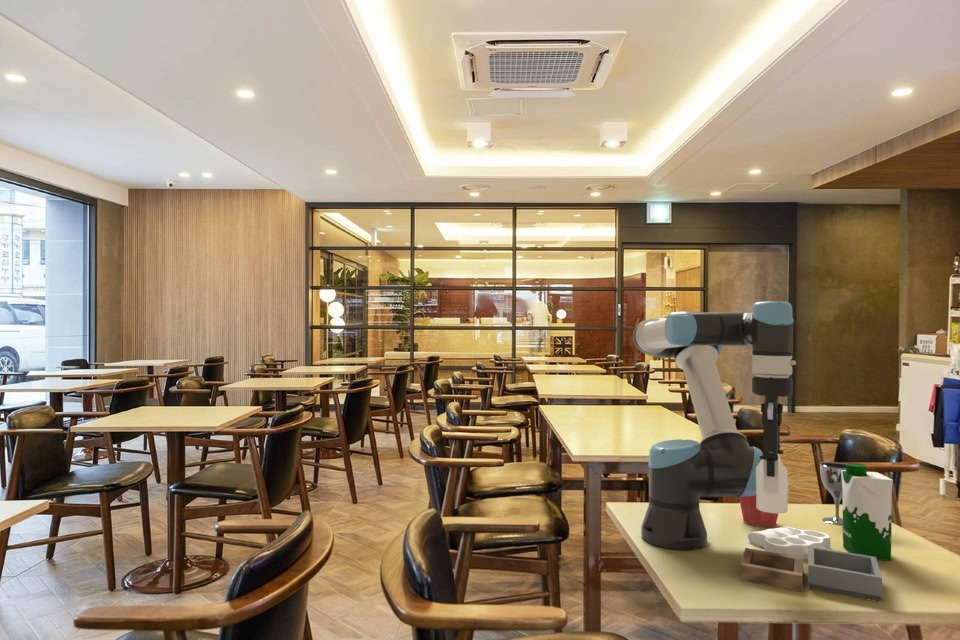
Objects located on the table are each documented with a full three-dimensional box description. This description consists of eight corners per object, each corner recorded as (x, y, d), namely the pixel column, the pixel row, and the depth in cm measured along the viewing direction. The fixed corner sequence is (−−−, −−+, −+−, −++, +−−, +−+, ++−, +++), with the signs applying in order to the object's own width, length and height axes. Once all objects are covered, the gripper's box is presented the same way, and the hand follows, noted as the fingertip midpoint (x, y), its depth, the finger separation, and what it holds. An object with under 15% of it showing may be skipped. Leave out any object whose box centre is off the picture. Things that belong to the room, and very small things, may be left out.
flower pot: (747, 513, 164) (747, 478, 164) (789, 523, 156) (789, 486, 156) (729, 521, 157) (729, 484, 157) (772, 532, 149) (772, 493, 149)
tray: (808, 588, 116) (808, 565, 116) (808, 567, 126) (808, 546, 126) (882, 602, 110) (882, 578, 110) (876, 579, 120) (875, 557, 121)
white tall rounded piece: (759, 453, 120) (753, 447, 126) (759, 512, 120) (753, 504, 126) (791, 454, 119) (783, 449, 124) (791, 514, 119) (783, 506, 124)
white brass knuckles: (789, 535, 148) (847, 555, 135) (737, 545, 140) (793, 567, 127) (789, 521, 148) (847, 540, 135) (737, 530, 141) (793, 552, 127)
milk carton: (837, 545, 140) (837, 460, 140) (880, 548, 138) (879, 462, 138) (852, 559, 131) (852, 468, 132) (898, 562, 129) (898, 471, 130)
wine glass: (861, 526, 154) (861, 468, 154) (830, 526, 154) (830, 468, 154) (843, 517, 162) (843, 462, 162) (814, 516, 162) (814, 461, 162)
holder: (740, 579, 120) (740, 564, 120) (745, 561, 129) (745, 547, 129) (802, 591, 114) (802, 576, 114) (803, 572, 124) (803, 557, 124)
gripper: (791, 380, 113) (790, 502, 112) (793, 374, 129) (793, 481, 129) (748, 378, 116) (747, 496, 116) (755, 372, 133) (755, 476, 132)
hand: (771, 488), depth 122 cm, fingers closed on white tall rounded piece, 5 cm apart
